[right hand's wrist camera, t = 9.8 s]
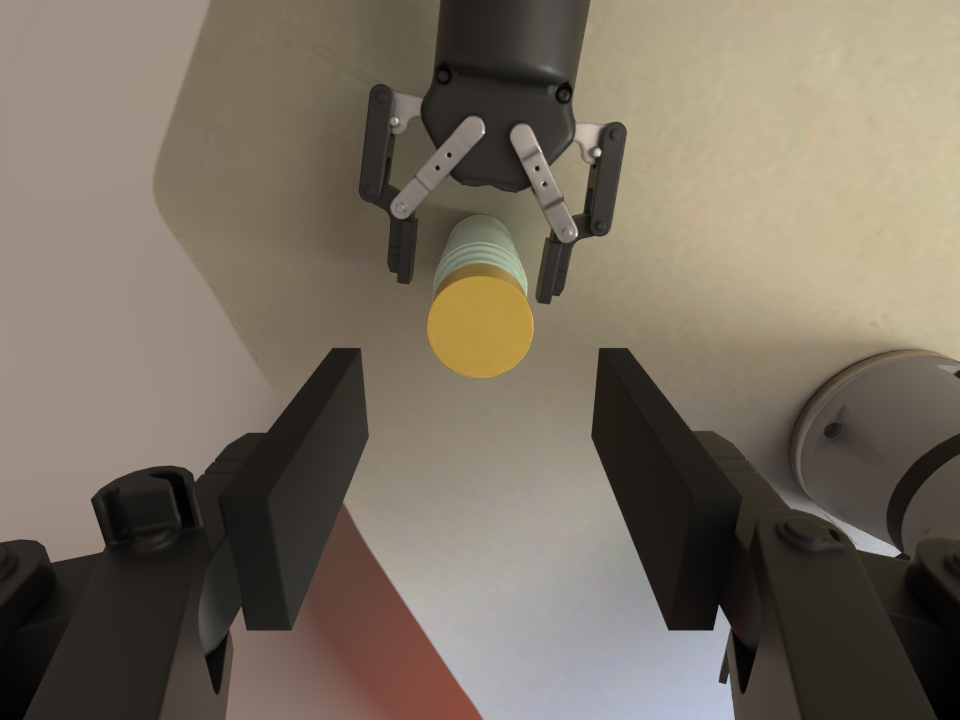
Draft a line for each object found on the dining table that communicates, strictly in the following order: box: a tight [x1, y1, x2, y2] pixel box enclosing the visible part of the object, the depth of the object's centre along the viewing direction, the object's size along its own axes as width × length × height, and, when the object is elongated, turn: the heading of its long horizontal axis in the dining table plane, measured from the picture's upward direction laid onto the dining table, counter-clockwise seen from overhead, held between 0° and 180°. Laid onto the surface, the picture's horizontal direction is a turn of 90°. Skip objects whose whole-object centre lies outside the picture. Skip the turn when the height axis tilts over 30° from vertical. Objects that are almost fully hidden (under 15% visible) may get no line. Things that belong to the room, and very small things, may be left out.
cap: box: [426, 263, 534, 378], centre depth 21 cm, size 4×4×2 cm
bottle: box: [433, 215, 527, 297], centre depth 29 cm, size 5×5×18 cm
